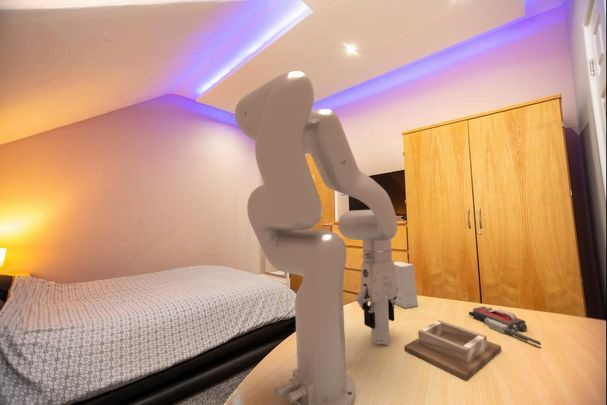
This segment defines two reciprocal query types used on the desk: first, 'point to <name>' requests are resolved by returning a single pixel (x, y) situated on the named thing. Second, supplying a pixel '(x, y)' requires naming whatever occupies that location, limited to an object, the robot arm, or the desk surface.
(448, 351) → the socket board
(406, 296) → the skincare box
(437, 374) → the desk surface
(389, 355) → the desk surface
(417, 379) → the desk surface
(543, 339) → the desk surface
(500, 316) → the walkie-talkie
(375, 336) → the skincare box
